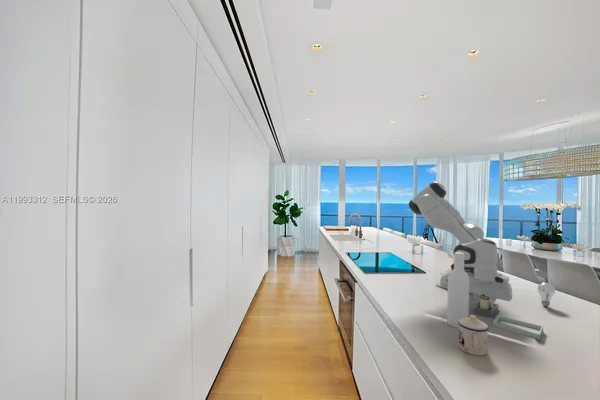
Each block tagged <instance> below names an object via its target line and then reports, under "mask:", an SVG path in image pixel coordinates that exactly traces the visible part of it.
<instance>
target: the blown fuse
mask: <svg viewBox="0 0 600 400" xmlns="http://www.w3.org/2000/svg"><path fill="white" fill-rule="evenodd" d="M479 300H480V309H484V310H488V311H489V307H488V304H489V297H487V296H485V295H484V294H482V295H479Z"/></svg>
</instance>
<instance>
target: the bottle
mask: <svg viewBox="0 0 600 400" xmlns="http://www.w3.org/2000/svg"><path fill="white" fill-rule="evenodd" d="M453 258H454V260H453V261H454V262H453V263H454V269H453V270H452V271H451V272H450V273H449V276H448V289H447V305H446V306H447V307H446V323H447V324H448V325H449V326H450V327H453V328H456V329H459V324H458V321H459V320H460V319H462V318H468V317H469V309H470V308H469V303H470V293H469V276H468V274H467V273H466V272H465V271H464V258H465V256H464V253H461V252H455V254H453Z"/></svg>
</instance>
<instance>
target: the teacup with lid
mask: <svg viewBox="0 0 600 400" xmlns="http://www.w3.org/2000/svg"><path fill="white" fill-rule="evenodd" d="M458 324H459V328H458V337H457V347H458V349H460V351H462V352H464V353H466V354H469V355H474V356H485V355H487V352H488V332H489V331H488V330H489V326H488V324H487V323H485V322H483V321H482V320H480V319H478V318H477V316H476V315H474V314H470V316H468V318H462V319H460V320H459V321H458Z"/></svg>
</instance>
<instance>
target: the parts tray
mask: <svg viewBox="0 0 600 400" xmlns="http://www.w3.org/2000/svg"><path fill="white" fill-rule="evenodd" d="M500 320H501V321H504V322H509V323H512V324H516V325H520V326H523V327H528V328H532V329H535V330H539V331H538V333H537V332H533V331H529V330H524V329H522V328H518V327H513V326H510V325H506V324H502V323H500V322H499V321H500ZM492 327H495V328H499V329H503V330H506V331H510V332H514V333H517V334H520V335H524V336H528V337H531V338H534V339H535V341H536V342H540V341H541V339H542V336H543V334H544V326H543V325H539V324H535V323H533V322H532V323H531V322H527V321H523V320H519V319H515V318H512V317H508V316H504V315H499V314H498V315H497V316H496V317H495V318H494V320H493V322H492Z"/></svg>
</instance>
